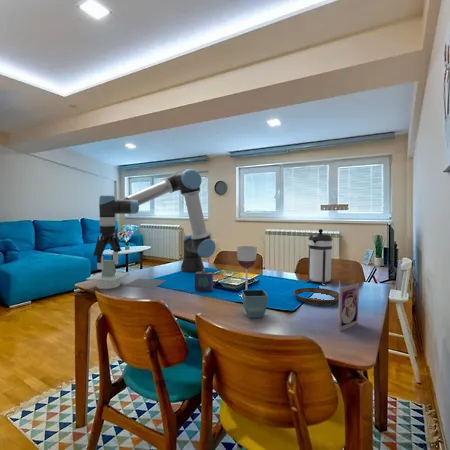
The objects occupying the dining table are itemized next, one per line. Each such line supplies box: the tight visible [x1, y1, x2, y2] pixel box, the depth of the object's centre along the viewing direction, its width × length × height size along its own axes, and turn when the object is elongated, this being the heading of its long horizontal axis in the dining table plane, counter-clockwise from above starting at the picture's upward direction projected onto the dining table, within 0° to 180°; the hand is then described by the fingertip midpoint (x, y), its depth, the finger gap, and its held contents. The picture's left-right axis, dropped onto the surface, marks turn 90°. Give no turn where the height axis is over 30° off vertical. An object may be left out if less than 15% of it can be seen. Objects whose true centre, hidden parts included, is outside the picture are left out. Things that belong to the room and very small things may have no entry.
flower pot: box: [241, 289, 269, 319], centre depth 114 cm, size 9×9×9 cm
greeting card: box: [337, 279, 360, 331], centre depth 106 cm, size 11×7×15 cm, turn 126°
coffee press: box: [305, 228, 334, 285], centre depth 167 cm, size 17×16×30 cm
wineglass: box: [236, 245, 258, 297], centre depth 139 cm, size 9×10×23 cm
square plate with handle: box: [85, 259, 130, 281], centre depth 154 cm, size 15×15×9 cm
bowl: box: [96, 278, 121, 290], centre depth 154 cm, size 11×11×5 cm
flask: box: [194, 268, 214, 292], centre depth 148 cm, size 9×3×11 cm, turn 88°
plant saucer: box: [293, 287, 339, 306], centre depth 135 cm, size 21×21×3 cm
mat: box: [122, 278, 167, 289], centre depth 160 cm, size 17×17×1 cm
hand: (108, 266), depth 154 cm, fingers open, 13 cm apart
